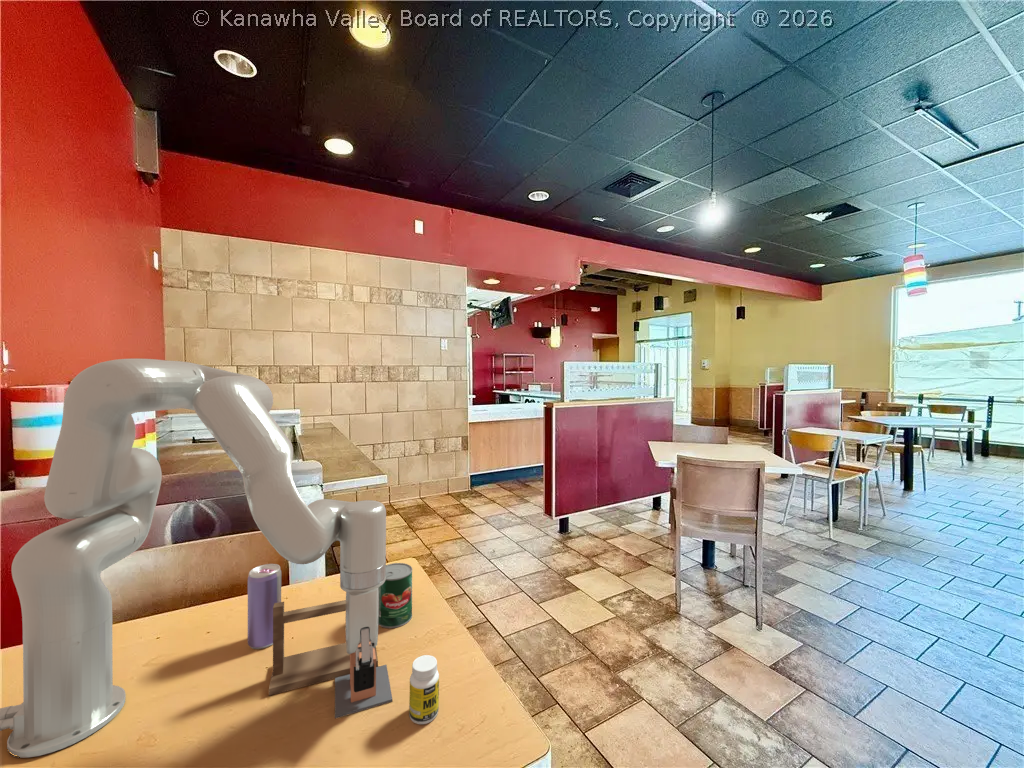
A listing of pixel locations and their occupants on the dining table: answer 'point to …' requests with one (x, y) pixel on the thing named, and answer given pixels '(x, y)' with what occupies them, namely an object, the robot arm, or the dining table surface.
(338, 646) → the stand
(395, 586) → the canned tomato
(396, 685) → the dining table surface
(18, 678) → the dining table surface
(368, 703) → the mat
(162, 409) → the robot arm
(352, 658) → the c link
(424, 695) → the supplement bottle
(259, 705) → the dining table surface
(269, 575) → the beverage can
